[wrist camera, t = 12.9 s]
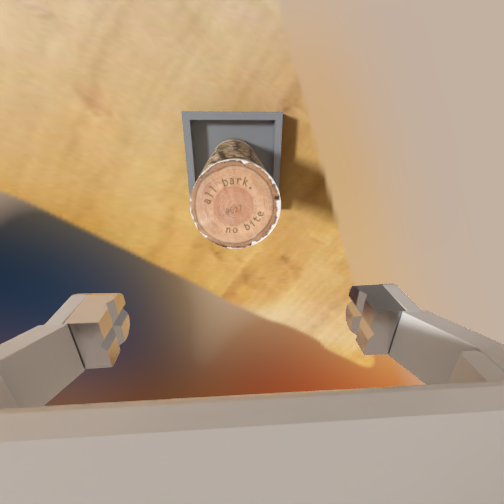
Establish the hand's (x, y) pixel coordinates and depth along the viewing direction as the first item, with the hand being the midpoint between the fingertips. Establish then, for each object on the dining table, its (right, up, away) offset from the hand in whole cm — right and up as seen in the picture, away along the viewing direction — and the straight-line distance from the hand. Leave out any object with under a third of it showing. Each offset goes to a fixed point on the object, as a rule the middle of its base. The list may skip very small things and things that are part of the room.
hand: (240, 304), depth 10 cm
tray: (-2, +16, +33) cm, 37 cm away
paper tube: (-2, +16, +33) cm, 37 cm away
